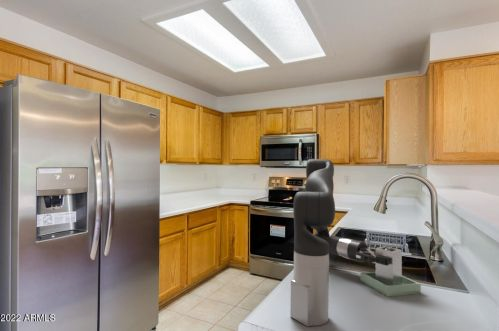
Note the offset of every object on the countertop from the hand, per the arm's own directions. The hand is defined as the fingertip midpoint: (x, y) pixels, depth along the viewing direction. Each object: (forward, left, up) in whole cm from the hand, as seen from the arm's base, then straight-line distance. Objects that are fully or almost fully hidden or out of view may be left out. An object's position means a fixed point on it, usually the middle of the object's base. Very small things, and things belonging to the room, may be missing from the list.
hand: (394, 260), depth 93 cm
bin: (0, +2, -10) cm, 10 cm away
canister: (0, +2, -9) cm, 9 cm away
